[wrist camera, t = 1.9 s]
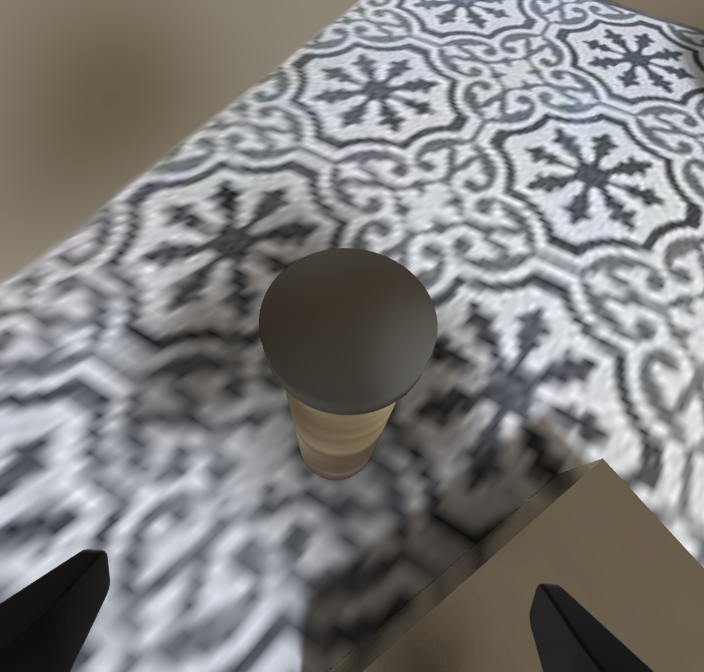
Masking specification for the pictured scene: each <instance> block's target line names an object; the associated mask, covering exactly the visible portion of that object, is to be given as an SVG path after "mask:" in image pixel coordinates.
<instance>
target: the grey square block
mask: <svg viewBox="0 0 704 672" xmlns="http://www.w3.org/2000/svg"><path fill="white" fill-rule="evenodd" d="M541 583H544V584H556V585H559V586H561V587H562V588H563V589H564V590H566V591H567V592H568V593H569V594H570V595H571V596H572V597H573V598H574V599H575V600H576V601H578V602H579V603H580V604H581V605H582V606H583V607H584V608H585V609H586V610H587V611H588V612H590V613H591V614H592V615H593V616H594V617H595V618H596V619H597V620H598V621H599V622H600V623H602V624H603V625H604V626H605V627H606V628H607V629H608V630H609V631H610V632H611V633H612V634H614V635H615V636H616V637H617V638H618V639H619V640H620V641H621V642H622V643H623V644H624V645H626V646H627V647H628V648H629V649H630V650H631V651H632V652H633V653H634V654H635V655H636V656H638V657H639V658H640V659H641V660H642V661H643V662H644V663H645V664H646V665H647V666H648V667H650V668H651V669H652V670H653V671H654V672H704V568H703V567H702V566H701V565H700V564H699V563H698V562H697V561H696V560H695V558H694V557H693V556H692V555H691V554H690V553H689V552H688V551H687V550H686V549H685V548H684V547H683V545H682V544H681V543H680V542H679V541H678V540H677V539H676V538H675V537H674V536H673V535H672V533H671V532H670V531H669V530H668V529H667V528H666V527H665V526H664V525H663V524H662V523H661V521H660V520H659V519H658V518H657V517H656V516H655V515H654V514H653V513H652V512H651V511H650V509H649V508H648V507H647V506H646V505H645V504H644V503H643V502H642V501H641V500H640V499H639V498H638V496H637V495H636V494H635V493H634V492H633V491H632V490H631V489H630V488H629V487H628V486H627V484H626V483H625V482H624V481H623V480H622V479H621V478H620V477H619V476H618V475H617V474H616V472H615V471H614V470H613V469H612V468H611V467H610V466H609V465H608V464H607V463H606V462H605V460H604V459H601V460H598V461H595V462H592V463H589V464H586V465H583V466H580V467H578V468H575V469H572V470H569V471H566V472H563V473H560V474H558V475H556V476H555V477H554V478H553V479H552V480H551V481H549V482H548V483H547V484H546V485H545V486H544V487H542V488H541V489H540V490H539V491H538V492H537V493H535V494H534V495H533V496H532V497H531V498H530V499H528V500H527V501H526V502H525V503H524V504H523V505H521V506H520V507H519V508H518V509H517V510H516V511H515V512H513V513H512V514H511V515H510V516H509V517H508V518H506V519H505V520H504V521H503V522H502V523H501V524H499V525H498V526H497V527H496V528H495V529H494V530H492V531H491V532H490V533H489V534H488V535H487V536H485V537H484V538H483V539H482V540H481V541H480V542H478V543H477V544H476V545H475V546H474V547H473V548H471V549H470V550H469V551H468V552H467V553H466V554H464V555H463V556H462V557H461V558H460V559H459V560H457V561H456V562H455V563H454V564H453V565H452V566H450V567H449V568H448V569H447V570H446V571H445V572H443V573H442V574H441V575H440V576H439V577H438V578H436V579H435V580H434V581H433V582H432V583H431V584H429V585H428V586H427V587H426V588H425V589H424V590H422V591H421V592H420V593H419V594H418V595H417V596H415V597H414V598H413V599H412V600H411V601H410V602H408V603H407V604H406V605H405V606H404V607H403V608H401V609H400V610H399V611H398V612H397V613H396V614H394V615H393V616H392V617H391V618H390V619H389V620H387V621H386V622H385V623H384V624H383V625H382V626H380V627H379V628H378V629H377V630H376V631H375V632H373V633H372V634H371V635H370V636H369V637H368V638H366V639H365V640H364V641H363V642H362V643H361V644H359V645H358V646H357V647H356V648H355V649H354V650H352V651H351V652H350V653H349V654H348V655H347V656H345V657H344V658H343V659H342V660H341V661H340V662H338V663H337V664H336V665H335V666H334V667H333V668H331V669H330V670H329V671H328V672H543V669H542V666H541V662H540V658H539V655H538V651H537V648H536V644H535V640H534V637H533V633H532V629H531V625H530V619H529V614H530V609H531V605H532V602H533V598H534V595H535V591H536V588H537V586H538V585H539V584H541Z"/></svg>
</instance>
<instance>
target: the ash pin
mask: <svg viewBox="0 0 704 672" xmlns="http://www.w3.org/2000/svg"><path fill="white" fill-rule="evenodd" d="M259 331H260V336H261V341H262V345H263V348H264V351H265V355H266V358H267V361H268V364H269V366H270V369H271V371H272V372H273V374H274V376H275V378H276V379H277V380H278V382H279V383H280V385H281V386H282V387H283V388H284V389H285V390H286V393H287V397H288V401H289V406H290V410H291V414H292V418H293V422H294V427H295V431H296V435H297V439H298V443H299V448H300V452H301V455H302V458H303V460H304V462H305V463H306V465H307V466H308V467H309V468H310V469H311V470H312V471H313V472H314V473H316V474H317V475H319V476H321V477H323V478H326V479H331V480H341V479H346V478H349V477H352V476H354V475H355V474H357V473H358V472H360V471H361V470H362V469H363V468H364V467H365V465H366V464H367V463H368V461H369V459H370V457H371V455H372V453H373V451H374V448H375V446H376V444H377V442H378V440H379V438H380V436H381V433H382V431H383V429H384V427H385V425H386V423H387V421H388V418H389V416H390V414H391V412H392V410H393V408H394V406H395V403H396V401H398V400H399V399H400V398H402V397H403V396H404V395H406V394H407V393H408V392H409V391H410V389H411V388H412V387H413V386H414V385H415V383H416V382H417V381H418V379H419V378H420V376H421V374H422V372H423V370H424V368H425V366H426V364H427V363H428V361H429V359H430V357H431V355H432V352H433V350H434V347H435V343H436V338H437V317H436V312H435V309H434V305H433V303H432V300H431V298H430V296H429V294H428V292H427V291H426V289H425V287H424V286H423V285H422V284H421V282H420V281H419V280H418V279H417V278H416V277H415V276H414V275H413V274H412V273H411V272H410V271H409V270H407V269H406V268H405V267H404V266H402V265H401V264H399V263H397V262H396V261H394V260H392V259H390V258H388V257H386V256H383V255H380V254H378V253H375V252H371V251H367V250H361V249H350V248H340V249H330V250H324V251H320V252H317V253H313V254H311V255H308V256H306V257H303V258H302V259H300V260H298V261H296V262H294V263H293V264H291V265H290V266H289V267H287V268H286V269H285V270H284V271H283V272H282V273H280V274H279V275H278V277H277V278H276V279H275V280H274V281H273V283H272V284H271V286H270V287H269V289H268V290H267V292H266V295H265V297H264V299H263V302H262V305H261V309H260V316H259Z"/></svg>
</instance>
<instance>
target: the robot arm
mask: <svg viewBox="0 0 704 672" xmlns="http://www.w3.org/2000/svg"><path fill="white" fill-rule="evenodd" d="M109 586H110V575H109V566H108V557H107V553H106V552H105V551H103V550H92V549H86V550H83V551H81V552H79V553H78V554H76V555H75V556H73V557H71V558H70V559H68V560H67V561H65V562H64V563H62V564H61V565H59V566H58V567H56V568H54V569H53V570H51V571H50V572H48V573H47V574H45V575H44V576H42V577H41V578H39V579H38V580H36V581H34V582H33V583H31V584H30V585H28V586H27V587H25V588H24V589H22V590H21V591H19V592H17V593H16V594H14V595H13V596H11V597H10V598H8V599H7V600H5V601H4V602H2V603H0V672H70V671H71V669H72V667H73V665H74V663H75V661H76V659H77V657H78V655H79V653H80V650H81V648H82V646H83V644H84V642H85V640H86V638H87V636H88V634H89V631H90V629H91V627H92V625H93V623H94V621H95V619H96V617H97V614H98V612H99V610H100V608H101V606H102V604H103V602H104V600H105V597H106V595H107V593H108V590H109ZM529 619H530V625H531V629H532V633H533V637H534V640H535V644H536V648H537V651H538V655H539V658H540V662H541V666H542V669H543V672H654V671H653V670H652V669H651V668H650V667H648V666H647V665H646V664H645V663H644V662H643V661H642V660H641V659H640V658H639V657H638V656H636V655H635V654H634V653H633V652H632V651H631V650H630V649H629V648H628V647H627V646H626V645H624V644H623V643H622V642H621V641H620V640H619V639H618V638H617V637H616V636H615V635H614V634H612V633H611V632H610V631H609V630H608V629H607V628H606V627H605V626H604V625H603V624H602V623H600V622H599V621H598V620H597V619H596V618H595V617H594V616H593V615H592V614H591V613H590V612H588V611H587V610H586V609H585V608H584V607H583V606H582V605H581V604H580V603H579V602H578V601H576V600H575V599H574V598H573V597H572V596H571V595H570V594H569V593H568V592H567V591H566V590H564V589H563V588H562V587H561V586H559V585H556V584H544V583H541V584H539V585H538V586H537V588H536V591H535V595H534V598H533V602H532V605H531V609H530V614H529Z"/></svg>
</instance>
